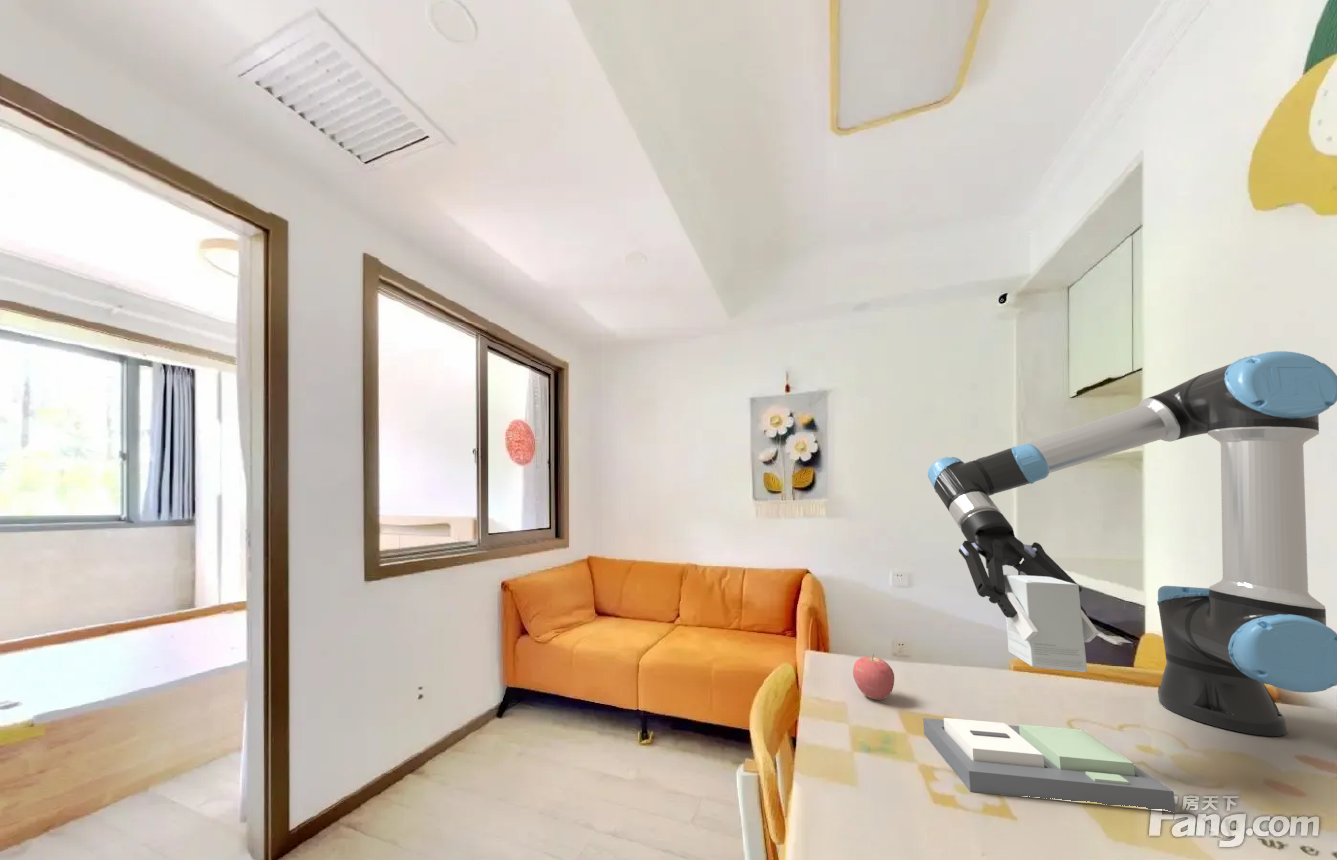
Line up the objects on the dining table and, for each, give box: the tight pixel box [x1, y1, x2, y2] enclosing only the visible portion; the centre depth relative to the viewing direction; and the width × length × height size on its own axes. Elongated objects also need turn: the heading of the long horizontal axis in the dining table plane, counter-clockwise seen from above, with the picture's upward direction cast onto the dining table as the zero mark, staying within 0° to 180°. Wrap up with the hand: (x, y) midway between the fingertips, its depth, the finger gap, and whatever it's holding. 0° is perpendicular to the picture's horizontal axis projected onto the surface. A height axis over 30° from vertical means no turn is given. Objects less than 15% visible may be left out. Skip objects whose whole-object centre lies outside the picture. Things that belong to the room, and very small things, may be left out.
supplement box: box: [1004, 574, 1088, 673], centre depth 71 cm, size 7×7×13 cm
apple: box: [852, 654, 895, 701], centre depth 89 cm, size 7×7×8 cm
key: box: [1018, 723, 1135, 776], centre depth 66 cm, size 9×9×2 cm
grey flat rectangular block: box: [922, 717, 1177, 814], centre depth 66 cm, size 24×15×4 cm, turn 82°
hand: (1061, 636), depth 68 cm, fingers closed on supplement box, 8 cm apart
